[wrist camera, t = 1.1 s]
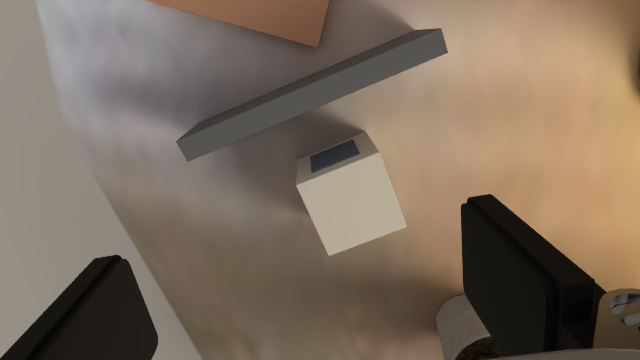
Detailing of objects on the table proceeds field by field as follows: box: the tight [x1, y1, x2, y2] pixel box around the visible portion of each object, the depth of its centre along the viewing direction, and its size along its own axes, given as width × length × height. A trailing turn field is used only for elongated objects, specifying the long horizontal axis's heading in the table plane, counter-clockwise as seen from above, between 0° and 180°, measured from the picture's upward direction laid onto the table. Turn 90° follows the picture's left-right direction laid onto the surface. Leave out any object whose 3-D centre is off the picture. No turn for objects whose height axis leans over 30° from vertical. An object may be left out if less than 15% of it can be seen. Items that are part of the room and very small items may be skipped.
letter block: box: [296, 132, 407, 256], centre depth 29 cm, size 6×6×6 cm
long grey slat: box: [176, 28, 448, 162], centre depth 27 cm, size 18×2×6 cm, turn 112°
